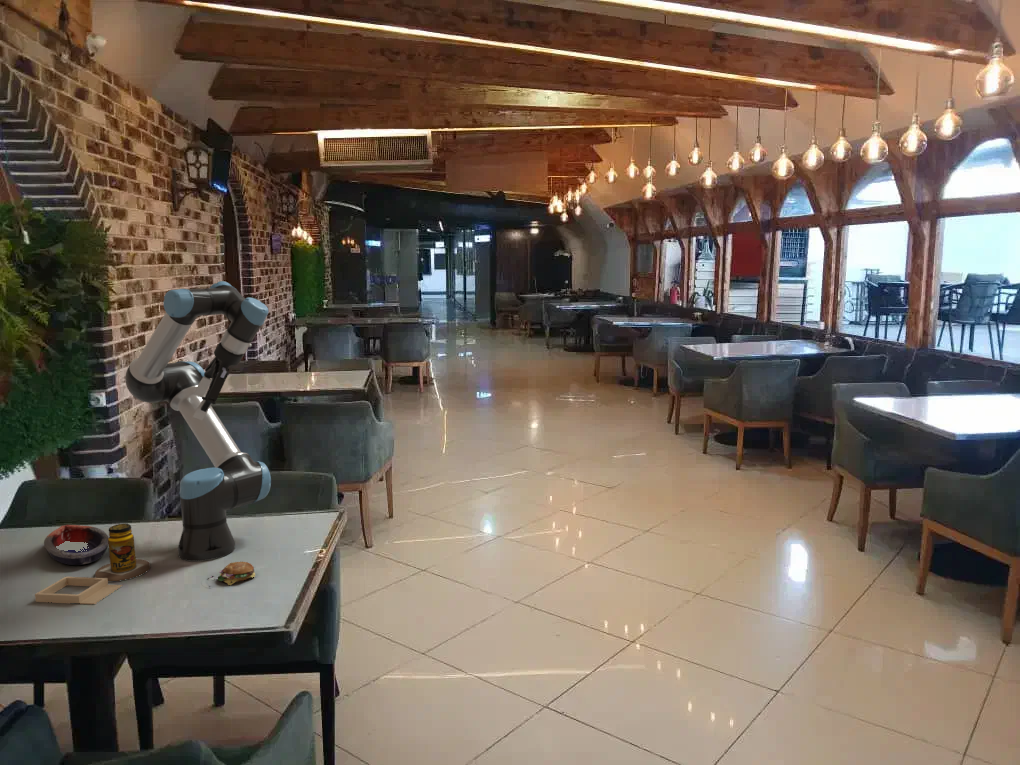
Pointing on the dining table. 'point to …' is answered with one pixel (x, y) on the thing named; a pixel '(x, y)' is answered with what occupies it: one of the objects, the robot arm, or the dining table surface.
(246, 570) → the hamburger
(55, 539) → the dish
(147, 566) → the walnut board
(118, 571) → the condiment
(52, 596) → the carton tray
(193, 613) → the dining table surface
